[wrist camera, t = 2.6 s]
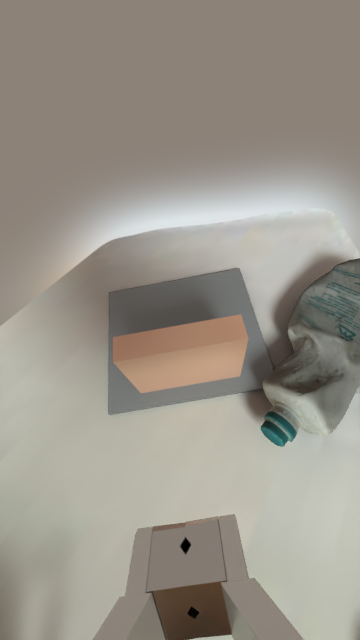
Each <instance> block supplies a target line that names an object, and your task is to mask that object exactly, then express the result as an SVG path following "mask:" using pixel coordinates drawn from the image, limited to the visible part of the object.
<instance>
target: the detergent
mask: <svg viewBox="0 0 360 640" xmlns="http://www.w3.org/2000/svg"><path fill="white" fill-rule="evenodd" d="M287 332H288V337H289V339H290V341H291V343H292V347H293V350H294V354H292V355H291V356H289V357H288V358H287V359H286V360H285V361H283V362H282V363H281V364H280V365H278V366H277V367H276V368H275V369H274V370H273V371H272V372H271V373H270V374H269V375H268V376H267V377H266V378H265V379H264V381H263V389H264V392H265V395H266V397H267V398H268V400H269V401H270V403H271V404H272V405H273V406H274V408H273V409H272V410H270V411H269V412H268V413H267V414H266V415H265V422H264V423H263V425H262V426H261V431H262V432H263V434H264V435H265V436H266V437H267V438H268V439H269V440H270V441H271V442H273V443H274V444H276V445H277V446H282V447H283V446H284V445H285V443H286V442H287V441H290V442H292V441H293V439H294V438H295V437H296V434H297V432H298V428H300V429H302V430H304V431H306V432H309V433H312V434H317V435H328V434H330V433H332V432H333V430H334V429H335V428H336V427H337V425H338V424H339V423H340V421H341V420H342V418H343V416H344V415H345V413H346V411H347V409H348V407H349V404H350V403H351V400H352V398H353V396H354V394H355V393H360V258H359V259H354V260H349V261H346V262H343V263H341V264H338V265H336V266H335V267H334V268H333V269H332V271H330V272H328V273H326V274H325V275H324V276H322V277H320V278H319V279H317V280H316V281H315V282H314V283H313V284H311V285H310V286H309V287H308V288H307V289H306V290H305V291H304V293H303V294H302V296H301V297H300V298H299V300H298V302H297V304H296V307H295V309H294V312H293V314H292V316H291V318H290V321H289V325H288V330H287Z"/></svg>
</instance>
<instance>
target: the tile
mask: <svg viewBox="0 0 360 640" xmlns="http://www.w3.org/2000/svg"><path fill="white" fill-rule="evenodd" d="M247 343H248V335H247V332H246V328H245V325H244V322H243V319H242V315H241V314H239V315H234V316H228V317H223V318H217V319H212V320H206V321H200V322H195V323H189V324H184V325H178V326H172V327H167V328H161V329H156V330H150V331H145V332H139V333H133V334H128V335H122V336H117V337H113V363H114V364H115V365H116V366H117V367H118V368H119V370H120V371H121V372H122V373H123V374H124V375H125V376H126V377H127V378H128V380H129V381H130V382H131V383H132V384H133V385H134V386H135V387H136V388H137V390H138V391H139V392H140V393H146V392H152V391H157V390H163V389H169V388H175V387H181V386H187V385H193V384H198V383H204V382H210V381H216V380H222V379H228V378H234V377H239V376H240V375H241V370H242V366H243V361H244V357H245V352H246V347H247Z"/></svg>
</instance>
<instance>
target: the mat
mask: <svg viewBox="0 0 360 640" xmlns="http://www.w3.org/2000/svg"><path fill="white" fill-rule="evenodd" d="M239 314H241V315H242V319H243V322H244V325H245V328H246V332H247V335H248V343H247V347H246V352H245V357H244V361H243V366H242V370H241V375H240V376H239V377H234V378H228V379H222V380H216V381H210V382H204V383H198V384H193V385H187V386H181V387H175V388H169V389H163V390H157V391H152V392H146V393H140V392H139V391H138V390H137V388H136V387H135V386H134V385H133V384H132V383H131V382H130V381H129V380H128V378H127V377H126V376H125V375H124V374H123V373H122V372H121V371H120V370H119V368H118V367H117V366H116V365H115V364H114V363H113V337H117V336H122V335H128V334H133V333H139V332H145V331H150V330H156V329H161V328H167V327H172V326H178V325H184V324H189V323H195V322H200V321H206V320H212V319H217V318H223V317H228V316H234V315H239ZM273 370H274V369H273V367H272V364H271V361H270V358H269V355H268V352H267V349H266V346H265V343H264V340H263V337H262V334H261V331H260V328H259V325H258V322H257V319H256V316H255V313H254V310H253V307H252V304H251V301H250V298H249V295H248V292H247V289H246V286H245V283H244V280H243V277H242V275H241V272H240V269H233V270H228V271H223V272H217V273H212V274H206V275H201V276H196V277H190V278H185V279H179V280H174V281H169V282H163V283H158V284H152V285H147V286H142V287H136V288H131V289H125V290H120V291H115V292H109V389H108V414H109V415H112V414H118V413H124V412H130V411H136V410H142V409H148V408H154V407H160V406H166V405H172V404H177V403H183V402H189V401H195V400H201V399H207V398H213V397H219V396H225V395H231V394H237V393H243V392H249V391H255V390H260V389H263V381H264V379H265V378H266V377H267V376H268V375H269V374H270V373H271V372H272V371H273Z"/></svg>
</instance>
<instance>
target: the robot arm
mask: <svg viewBox="0 0 360 640" xmlns="http://www.w3.org/2000/svg"><path fill="white" fill-rule="evenodd" d="M224 635H232V637H233V639H234V640H304V639H303V638H302V637H301V635H300V634H299V633H298V632H297V630H296V629H295V628H294V627H293V625H292V624H291V623H290V622H289V620H288V619H287V618H286V617H285V615H284V614H283V613H282V612H281V610H280V609H279V608H278V607H277V605H276V604H275V603H274V602H273V601H272V599H271V598H270V597H269V596H268V594H267V593H266V592H265V591H264V589H263V588H262V587H261V586H260V584H259V583H258V582H257V581H256V579H255V578H249V577H248V572H247V567H246V563H245V558H244V553H243V549H242V544H241V539H240V534H239V530H238V525H237V520H236V517H235V514H233V515H227V516H220V517H218V516H217V517H211V518H205V519H200V520H194V521H188V522H186V523H179V524H170V525H162V526H154V527H147V528H140V529H137V532H136V534H135V539H134V545H133V551H132V557H131V563H130V569H129V575H128V582H127V588H126V594H125V596H122V597H119V599H118V601H117V602H116V604H115V605H114V607H113V608H112V610H111V612H110V613H109V615H108V616H107V618H106V620H105V621H104V623H103V624H102V626H101V627H100V629H99V631H98V632H97V634H96V635H95V637H94V638H93V640H189V639H195V638H199V637H200V638H202V637H213V636H224Z"/></svg>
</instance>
